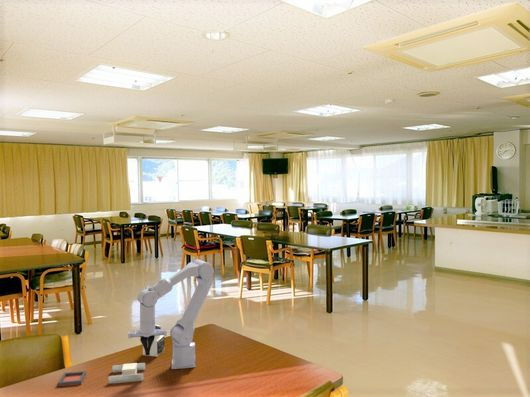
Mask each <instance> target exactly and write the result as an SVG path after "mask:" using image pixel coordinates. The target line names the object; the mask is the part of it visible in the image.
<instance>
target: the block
mask: <svg viewBox="0 0 530 397" xmlns="http://www.w3.org/2000/svg"><path fill="white" fill-rule="evenodd" d="M122 365H123V368H122V372H121V375H127V374H138V371H137V362H132V363H123V364H122Z"/></svg>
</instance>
